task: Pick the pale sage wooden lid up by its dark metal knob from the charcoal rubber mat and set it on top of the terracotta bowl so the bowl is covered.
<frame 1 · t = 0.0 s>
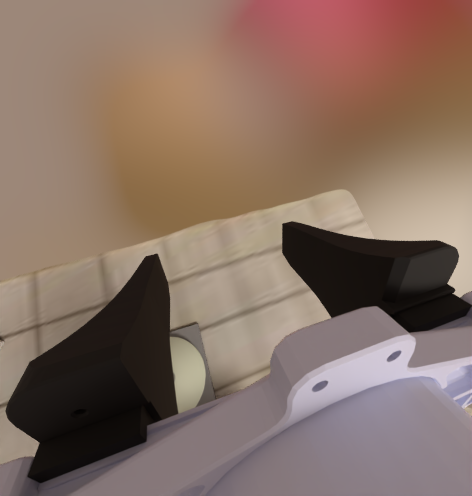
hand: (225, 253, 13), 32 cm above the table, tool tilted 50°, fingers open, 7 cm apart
mat: (167, 377, 38), on the table
lid: (167, 377, 38), resting on mat
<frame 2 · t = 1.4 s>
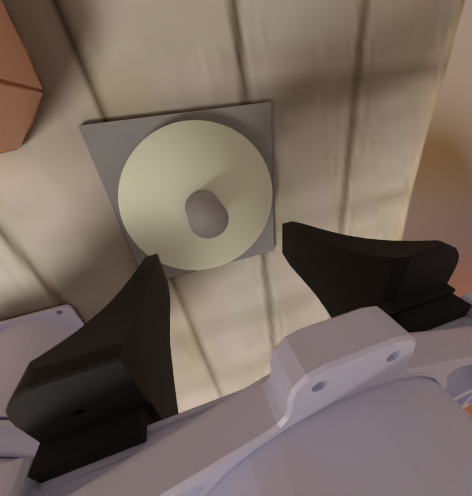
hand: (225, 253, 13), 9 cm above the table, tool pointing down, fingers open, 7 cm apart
mat: (200, 202, 20), on the table
lid: (200, 203, 20), resting on mat
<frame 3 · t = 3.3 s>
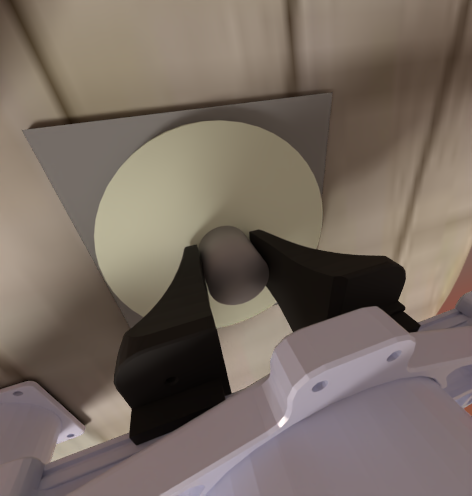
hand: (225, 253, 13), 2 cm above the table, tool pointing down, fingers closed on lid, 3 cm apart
mat: (218, 238, 14), on the table
lid: (220, 241, 14), resting on mat, touching gripper
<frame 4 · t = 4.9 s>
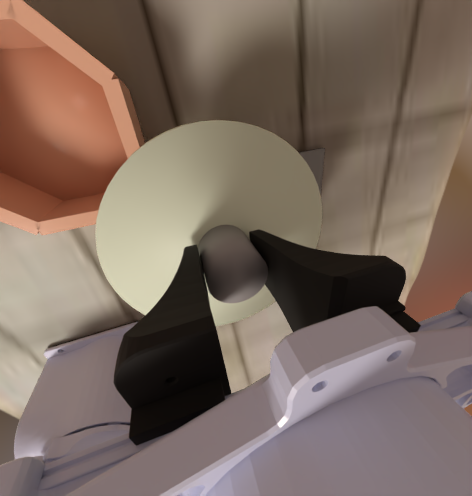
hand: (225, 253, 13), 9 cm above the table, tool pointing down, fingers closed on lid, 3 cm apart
mat: (256, 232, 23), on the table
lid: (220, 240, 14), point 7 cm above the table, touching gripper
bowl: (64, 132, 15), on the table
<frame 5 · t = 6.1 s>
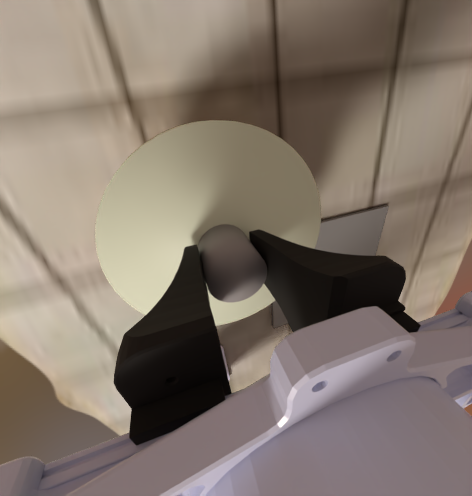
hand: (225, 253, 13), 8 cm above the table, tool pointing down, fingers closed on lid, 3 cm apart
mat: (324, 270, 27), on the table
lid: (219, 240, 14), point 6 cm above the table, touching gripper
when the fingers open (8 cm above the table, at t = 6.8 s): lid drops 1 cm, resting on bowl.
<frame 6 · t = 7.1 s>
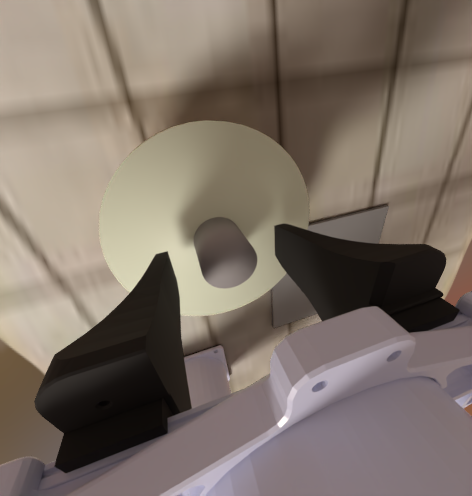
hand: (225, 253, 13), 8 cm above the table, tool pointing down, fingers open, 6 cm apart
mat: (324, 270, 27), on the table
lid: (214, 232, 15), point 5 cm above the table, touching bowl
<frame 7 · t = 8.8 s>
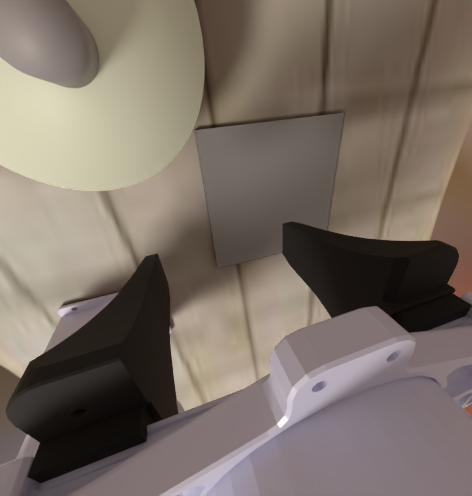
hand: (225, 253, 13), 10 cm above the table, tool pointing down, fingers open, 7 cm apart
mat: (273, 197, 23), on the table
lid: (68, 52, 11), point 5 cm above the table
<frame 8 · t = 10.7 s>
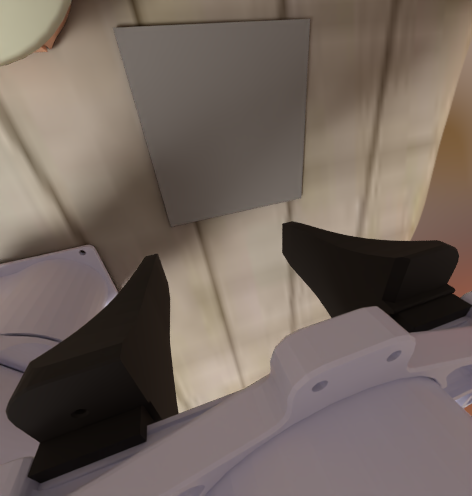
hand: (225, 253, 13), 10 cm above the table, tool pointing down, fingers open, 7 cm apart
mat: (230, 135, 19), on the table
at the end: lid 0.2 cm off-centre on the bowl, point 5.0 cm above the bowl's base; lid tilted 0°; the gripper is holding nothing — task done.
